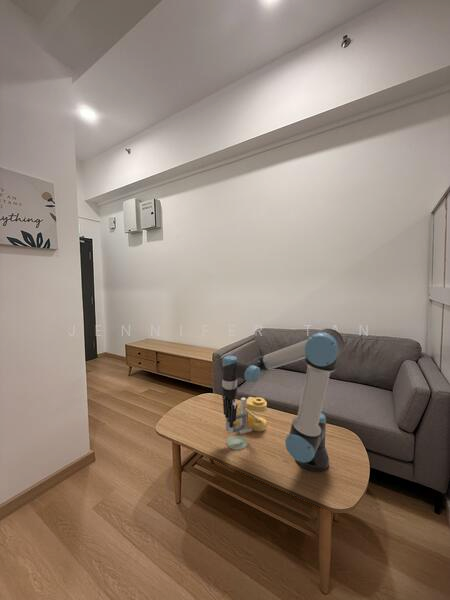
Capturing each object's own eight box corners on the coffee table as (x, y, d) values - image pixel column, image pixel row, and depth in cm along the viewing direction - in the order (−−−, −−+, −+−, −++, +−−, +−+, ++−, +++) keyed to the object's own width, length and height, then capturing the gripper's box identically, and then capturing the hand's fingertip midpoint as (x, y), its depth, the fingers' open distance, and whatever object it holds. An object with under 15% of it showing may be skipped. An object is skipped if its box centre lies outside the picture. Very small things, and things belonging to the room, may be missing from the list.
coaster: (251, 446, 126) (251, 445, 126) (232, 452, 121) (232, 451, 121) (241, 434, 136) (241, 433, 136) (223, 439, 131) (223, 438, 131)
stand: (264, 444, 127) (264, 410, 126) (253, 447, 124) (253, 413, 123) (245, 424, 145) (245, 395, 144) (235, 427, 142) (235, 397, 141)
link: (245, 428, 130) (245, 414, 129) (228, 433, 125) (228, 418, 125) (244, 427, 131) (244, 412, 130) (227, 432, 127) (227, 417, 126)
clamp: (268, 425, 144) (269, 398, 144) (263, 433, 136) (263, 405, 135) (237, 416, 154) (238, 391, 153) (231, 423, 146) (231, 397, 145)
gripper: (243, 391, 120) (242, 437, 121) (229, 380, 133) (229, 422, 134) (229, 394, 116) (229, 441, 118) (217, 382, 130) (217, 425, 131)
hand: (229, 431), depth 126 cm, fingers closed on link, 1 cm apart
